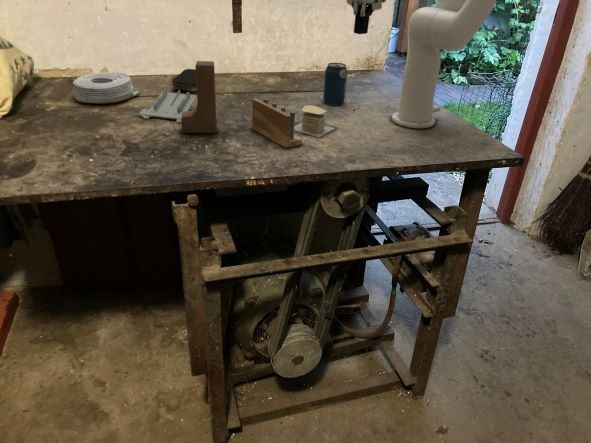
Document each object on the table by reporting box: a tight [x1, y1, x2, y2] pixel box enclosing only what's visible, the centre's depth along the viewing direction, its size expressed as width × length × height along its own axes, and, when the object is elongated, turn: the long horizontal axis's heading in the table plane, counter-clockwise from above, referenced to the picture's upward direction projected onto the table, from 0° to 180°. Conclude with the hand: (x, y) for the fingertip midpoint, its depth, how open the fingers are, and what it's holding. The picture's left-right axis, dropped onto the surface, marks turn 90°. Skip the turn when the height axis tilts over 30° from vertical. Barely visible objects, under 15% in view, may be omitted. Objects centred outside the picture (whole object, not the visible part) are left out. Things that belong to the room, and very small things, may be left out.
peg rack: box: [251, 97, 303, 149], centre depth 127 cm, size 5×16×8 cm, turn 37°
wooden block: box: [180, 60, 218, 134], centre depth 126 cm, size 9×4×18 cm, turn 96°
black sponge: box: [171, 68, 197, 93], centre depth 165 cm, size 16×8×4 cm, turn 172°
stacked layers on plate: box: [294, 104, 336, 138], centre depth 135 cm, size 10×9×6 cm
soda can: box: [322, 62, 348, 106], centre depth 154 cm, size 7×7×12 cm
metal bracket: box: [138, 89, 197, 123], centre depth 141 cm, size 14×6×15 cm
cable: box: [72, 71, 140, 104], centre depth 149 cm, size 18×18×6 cm
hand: (360, 33), depth 117 cm, fingers closed
